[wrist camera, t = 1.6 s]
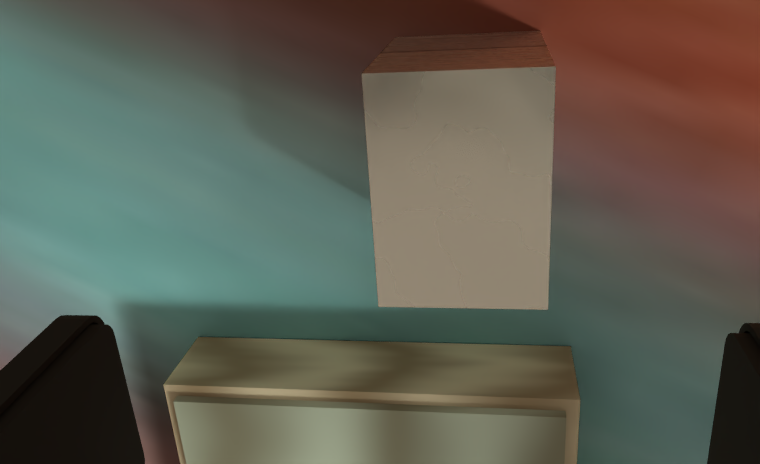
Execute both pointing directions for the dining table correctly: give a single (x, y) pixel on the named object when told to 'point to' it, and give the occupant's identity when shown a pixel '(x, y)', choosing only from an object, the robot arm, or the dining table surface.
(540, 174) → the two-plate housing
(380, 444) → the wooden stand
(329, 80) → the dining table surface
